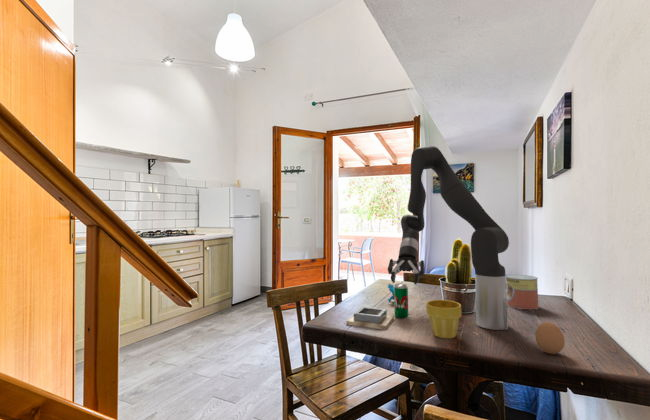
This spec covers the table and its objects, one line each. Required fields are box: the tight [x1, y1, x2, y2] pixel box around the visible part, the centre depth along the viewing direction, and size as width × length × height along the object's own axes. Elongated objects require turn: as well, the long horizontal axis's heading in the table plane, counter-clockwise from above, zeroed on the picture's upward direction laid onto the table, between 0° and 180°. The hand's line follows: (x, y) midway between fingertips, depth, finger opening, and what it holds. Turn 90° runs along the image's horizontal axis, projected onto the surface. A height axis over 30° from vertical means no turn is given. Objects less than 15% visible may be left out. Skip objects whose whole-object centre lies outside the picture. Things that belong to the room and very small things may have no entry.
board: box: [345, 314, 395, 331], centre depth 115 cm, size 14×12×1 cm
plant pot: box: [425, 299, 462, 339], centre depth 101 cm, size 10×10×10 cm
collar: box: [353, 306, 388, 324], centre depth 115 cm, size 9×9×2 cm
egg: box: [535, 321, 566, 355], centre depth 87 cm, size 6×6×8 cm
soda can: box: [393, 283, 409, 319], centre depth 121 cm, size 5×5×12 cm
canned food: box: [505, 274, 539, 311], centre depth 133 cm, size 11×11×12 cm
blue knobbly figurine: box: [387, 283, 395, 302], centre depth 144 cm, size 11×6×10 cm
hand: (404, 282), depth 127 cm, fingers open, 8 cm apart
